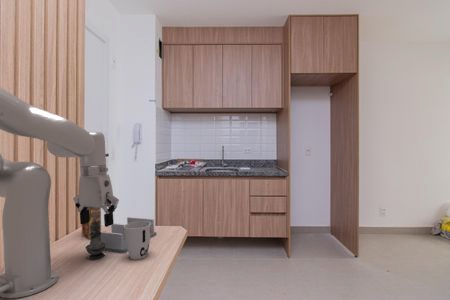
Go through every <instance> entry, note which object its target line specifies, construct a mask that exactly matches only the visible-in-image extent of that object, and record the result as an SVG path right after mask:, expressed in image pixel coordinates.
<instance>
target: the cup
mask: <svg viewBox="0 0 450 300" xmlns="http://www.w3.org/2000/svg"><path fill="white" fill-rule="evenodd" d="M124 233H125V241H126V246H127V250H128V251H127V253H128V255H129V258H130V259H131V260H141V259H143V258H144V259H145V258H146V257H147V256H148V253H149V249H150V243H151V238H150V233H151V223H150V222H147V221H138V222H132V223H128V224H127V223H126V224H124Z"/></svg>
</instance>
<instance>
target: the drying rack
mask: <svg viewBox="0 0 450 300" xmlns="http://www.w3.org/2000/svg"><path fill="white" fill-rule="evenodd" d="M138 221H147V222H150V223H151V233H150V239H151V238H153V237H155V236H156V235H157V231H155V219H154V218H144V217H142V218H141V217H130V216H129V217H127V218H126V222H127V223H126V224H128V223H132V222H138ZM124 225H125V224H122V223H113V224H112V225H110V226H111V232H110V231H109V232H108V231H107V232H106V231H102V230H101V231H100V232H101V241H102V242H104V243H106V245H105V248H104V251H107V252H114V253H121V254H125V253H128V250H127V246H126V241H125V233H124Z"/></svg>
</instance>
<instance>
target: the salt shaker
mask: <svg viewBox="0 0 450 300" xmlns="http://www.w3.org/2000/svg"><path fill="white" fill-rule="evenodd" d="M101 232H102V231H101ZM101 232H100V223H98V222H96V220H94V222H93V223H92V224H91V225H90V234H89V235H90V239H89V240H90V242H89V244H87V245H85V250H86V251H87V253H88V254H89V255H88V256H87V257H86V259H87V260H88V261H97V259H98V260H101V259H103V258H105V257H106V254H105V252H104V251H105V250H104V248H105V245H106V243H104V242H102V241H101ZM103 252H104V253H103ZM104 256H105V257H104Z"/></svg>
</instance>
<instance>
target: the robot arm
mask: <svg viewBox="0 0 450 300" xmlns="http://www.w3.org/2000/svg"><path fill="white" fill-rule="evenodd" d="M0 130H1V131H3V132H5V133H8V134H12V135H16V136H19V137H25V138H32V139H38V140H41V141H44V142H46V149H47V150H48V152H49V153H50V154H51V155H53V156H54V157H58V158H78V159H79V173H80V176H79V180H78V194H77V195H75V196H74V197H73V202H74V205H75V207H76V208H77V212H78V213H79V220H80V221H79V222H80V225H81V226H82V225H83V224H85V223H88V222H90V215H89V210H87V209H88V207H94V208H101V210H103V211H104V214H103V218H104V219H103V221H104V222H103V223H104V227H106V228H108V227H110V226H111V225H112V224H115V223H114V213H115V211H116V210H117V207H118V204H119V201H120V200H119V198H117V197H116V196H114V193H113V186H112V181H111V176H110V174H108V173H107V172H108V171H109V168H108V167H107V157H106V156H107V155H106V144H105V143H106V141H105V135H104V133H103V132H100V131H87V130H86V129H84V128H83V127H81V126H79V125H78V124H76V122H75V123H74V122H73V121H71V120H69V119H68V118H65V117H63V116H62V115H61V116H60V115H58V114H56V113H52V112H50V111H48V110H45V109H43V108H40V107H37V106H34V105H32V104H30V103H28V102H26V101H24V100H22V99H20V98H19V97H17V96H16V95H14V94H12V93H11V92H9V91H7V90H5V89H4V88H3V87H2V88H1V87H0ZM51 187H52V178H51V175H50V172H49V171H48V170H47V169H46V167H44V166H43V165H41V164H39V163H36V162H32V161H11V160H9V159H6V158H4V157H3V155H2V154H1V153H0V197H1V198H5V199H4V204H3V209H2V214H1V215H2V218H1V220H2V223H1V224H2V227H1V228H2V240H3V242H2V243H3V256H4V257H3V259H4V260H3V261H4V273H2V274H0V298H3V299H18V298H24V297H27V296H31V295H34V294H38V293H40V292H42V291H44V290H46V289H49V288H50V287H51V286H53V285H54V284H56V283H57V281H58V280H59V273H58V272H57V271H56V270H54V269H52V265H51V261H52V260H51V259H52V258H51V241H50V239H51V238H50V221H49V220H50V217H49V204H50V203H49V202H50V194H51Z"/></svg>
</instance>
